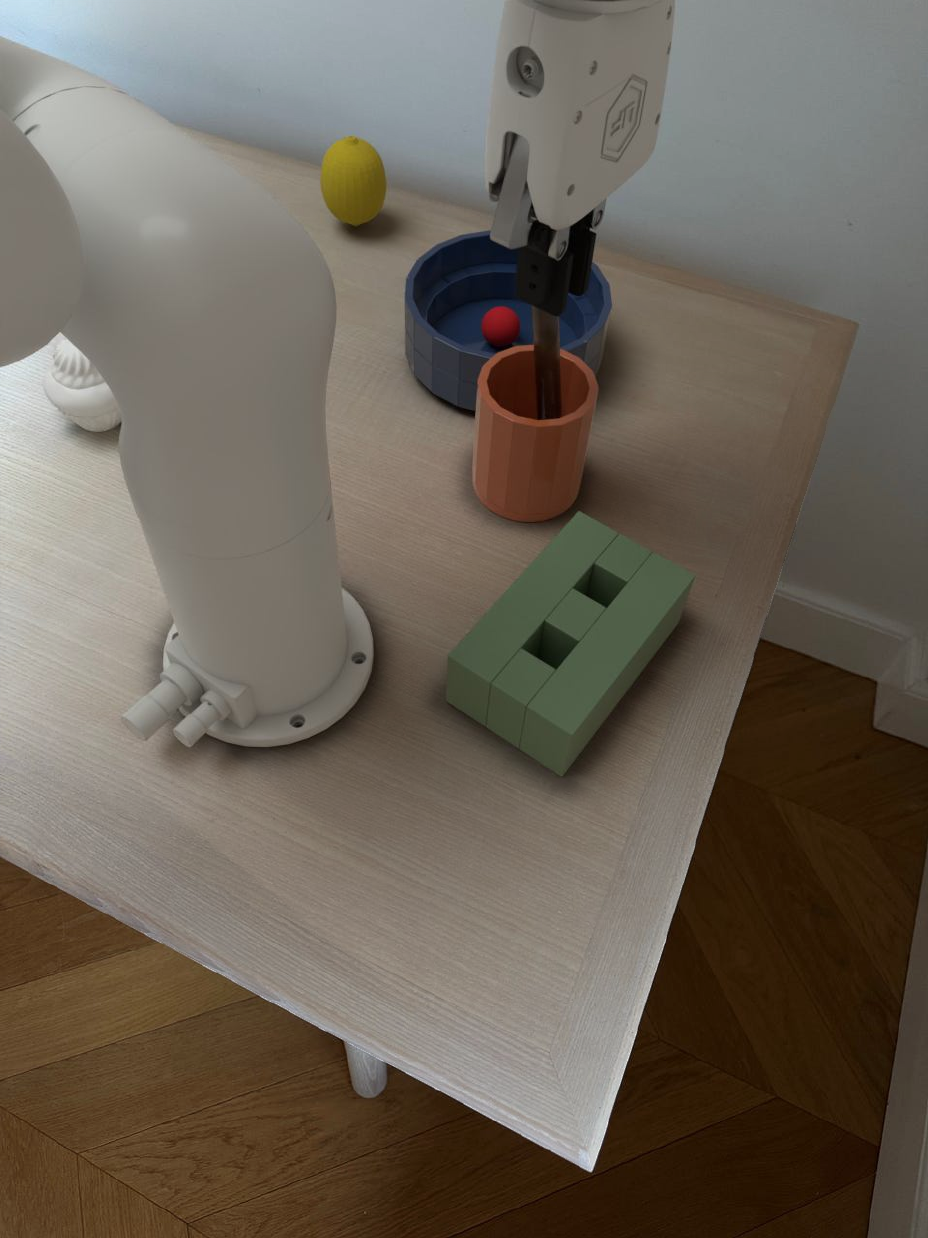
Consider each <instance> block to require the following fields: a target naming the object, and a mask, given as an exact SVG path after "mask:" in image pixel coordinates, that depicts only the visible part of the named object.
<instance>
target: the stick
mask: <svg viewBox="0 0 928 1238" xmlns="http://www.w3.org/2000/svg"><path fill="white" fill-rule="evenodd" d="M535 218H537V216H536V213H535ZM531 310H532V327H533V345H534V363H535V381H536V399H537V417H538V420H547V419H559V418H561V417H562V397H561V367H560V336H559V316H558V317H556V316H553V315H551V314H549V313H547V312H545V311H543V310H541V309H539V308H537V307H535V306H533V305H531Z"/></svg>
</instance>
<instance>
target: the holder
mask: <svg viewBox="0 0 928 1238" xmlns="http://www.w3.org/2000/svg"><path fill="white" fill-rule="evenodd" d="M695 579H696V574H695V573H693V572H691V571H689V570H687V569H685V568H684V567H682V566H680V565H678V564H676V563H674V562H673V561H671V560H669V559H667V558H665V557H663V556H662V555H660V554H658V553H657V552H655V551H653V550H651V549H649V548H647V547H645V546H643V545H642V544H640V543H638V542H636V541H635V540H633V539H631V538H629V537H628V536H625V535H624V534H622V533H619V532H618V531H616V530H614V529H613V528H611V527H609V526H608V525H605V524H604V523H602V522H600V521H598V520H596V519H595V518H593V517H591V516H589V515H587V514H585V513H584V512H582V511H580V510H577V512H576V513H575V514H574V515H573V516H572V518H571V519H570V520H569V521H568V522H567V523H566V524H565V525H564V526H563V528H561V530H560V531H559V532H558V533H557V534H556V535H555V537H553V538H552V540H551V541H550V542H549V543H548V544H547V545H546V547H545V548H543V550H542V551H541V552H540V553H539V554H538V555H537V556H536V557H535V558H534V559H533V561H532V562H531V563H530V564H529V565H528V566H527V567H526V569H524V570H523V572H522V573H521V574H520V575H519V576H518V577H517V579H515V581H513V583H512V584H511V585H510V586H509V587H508V588H507V590H506V591H505V592H504V593H502V595H500V597H499V598H498V599H497V601H495V603H494V604H493V605H492V606H491V607H490V608H489V609H488V610H487V611H486V612H485V614H484V615H483V616H482V617H481V618H480V619H479V620H478V621H477V623H476V624H474V626H473V627H472V628H471V629H470V630H469V631H468V633H466V634H465V636H463V638H462V639H461V640H460V641H459V642H458V643H457V644H456V645H455V647H454V648H453V649H452V650H451V651H450V652H449V653H448V654H447V661H446V682H445V683H446V684H445V685H446V686H445V702H447V703H448V704H450V705H451V706H452V707H454V708H456V709H457V710H459V711H460V712H462V713H463V714H465V715H467V716H468V717H470V718H471V719H473V721H475V722H477V723H479V724H480V725H482V726H483V727H486V729H488V730H489V731H491V732H492V733H493V734H495V735H497V737H500V738H501V739H503V740H504V741H506V742H508V743H509V744H510V745H512V746H514V747H515V748H516V749H519V751H521V752H523V753H524V754H526V756H528V757H530V758H532V759H533V760H535V761H536V762H538V763H539V764H541V765H542V766H543V767H545V768H547V769H548V770H549V771H551V772H552V773H554V774H556V775H557V776H559V777H561V778H563V777H564V775H565V774H566V773H567V771H568V770H569V769H570V767H571V766H572V765H573V763H574V762H575V761H576V759H578V757H579V755H581V753H582V752H583V750H584V749H585V747H586V746H587V745H588V744H589V742H590V741H591V739H592V738H593V737H594V736H595V734H596V732H598V730H599V729H600V728H601V726H602V725H603V724H604V722H606V720H607V719H608V717H609V716H610V714H611V713H612V712H613V710H615V708H616V707H617V705H618V704H619V703H620V701H621V700H622V699H623V697H624V696H625V695H626V693H627V692H628V691H629V690H630V688H631V687H632V685H633V684H634V683H635V681H636V680H637V678H639V676H640V675H641V673H642V672H643V671H644V670H645V669H646V667H647V665H648V664H650V662H651V660H652V659H653V658H654V656H655V655H656V653H657V652H658V651H659V650H660V648H661V647H662V646H663V645H664V643H665V641H666V640H667V639H668V638H669V636H670V635H671V634H672V632H673V631H674V630H675V628H677V626H678V625H679V623H680V620H681V617H682V615H683V613H684V609H685V608H686V607H685V606H686V604H687V601H688V598H689V596H690V593H691V590H692V588H693V584H694V582H695Z"/></svg>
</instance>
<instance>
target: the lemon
mask: <svg viewBox="0 0 928 1238" xmlns="http://www.w3.org/2000/svg"><path fill="white" fill-rule="evenodd" d="M319 180H320V190H321V195H322V198H323V201H324V203H325V206H326V208H327V209H328V210H329V212H330V213H331V214H332V215H333V216H334V218H336V219H338V220H339V221H340V222H342V223H345V224H348V225H352V226H353V227H359V226H360V225H362V224H365V223H368V222H370V221H371V220H373V219H374V218H375V217H376V216H377V215H378V214H379V212H380V211H381V210H382V208H383V206H384V202H385V198H386V195H387V176H386V171H385V167H384V163H383V160H382V157H381V156H380V153H379V152H378V150H377V149H376V148H375V147H374V146H373V145H372V144H371V143H369V142H368V141H367V140H365V139H362V138H360V137H357V136H354V135H347V136H346V137H343V138H340V139H338V140H336V141H335V142H334V143H332V144H331V145H330V147H328V149H327V151H326V153H325V154H324V156H323V159H322V163H321V169H320V179H319Z"/></svg>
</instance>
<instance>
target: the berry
mask: <svg viewBox="0 0 928 1238" xmlns="http://www.w3.org/2000/svg"><path fill="white" fill-rule="evenodd" d="M481 329H482V334H483V336H484V338H485V339H486V341H487V342H489V343H490V344H491V345H493V346H497V347H505V346H508V345H510V344H512V343H513V342H514V341H515V340H516V339H517V337H518V335H519V332H520V321H519V318H518V316H517V315H516V313H515V312H514V311H513V310H511V309H510V308H507V307H503V306H500V307H495V308H492V309H491V310H489V311H488V312H487V313H486V314H485V316H484V318H483V320H482V325H481Z"/></svg>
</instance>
